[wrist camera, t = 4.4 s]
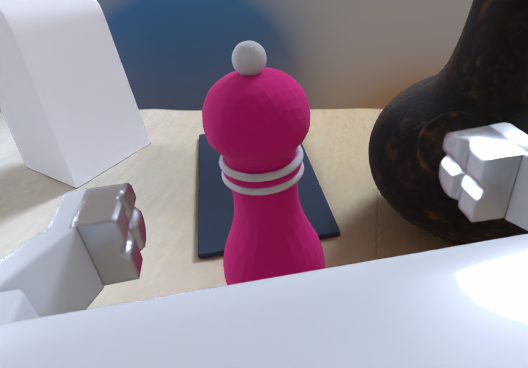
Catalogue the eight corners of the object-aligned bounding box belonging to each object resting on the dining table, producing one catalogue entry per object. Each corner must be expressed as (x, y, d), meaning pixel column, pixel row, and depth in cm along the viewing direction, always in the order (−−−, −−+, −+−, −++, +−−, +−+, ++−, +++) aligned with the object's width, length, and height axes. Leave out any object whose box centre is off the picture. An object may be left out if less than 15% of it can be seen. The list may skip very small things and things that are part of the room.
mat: (340, 235, 37) (340, 231, 37) (198, 258, 37) (197, 254, 36) (292, 123, 57) (291, 120, 57) (199, 137, 57) (199, 134, 56)
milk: (76, 188, 49) (-34, -65, 34) (26, 166, 55) (-87, -57, 40) (150, 143, 57) (86, -78, 42) (99, 128, 63) (27, -70, 48)
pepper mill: (276, 256, 36) (248, 18, 25) (344, 297, 31) (349, 30, 20) (213, 309, 32) (146, 52, 21) (283, 364, 27) (245, 76, 16)
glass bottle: (330, 219, 39) (325, -155, 24) (422, 144, 49) (461, -156, 33) (538, 322, 28) (791, -260, 12) (604, 198, 38) (793, -217, 22)
